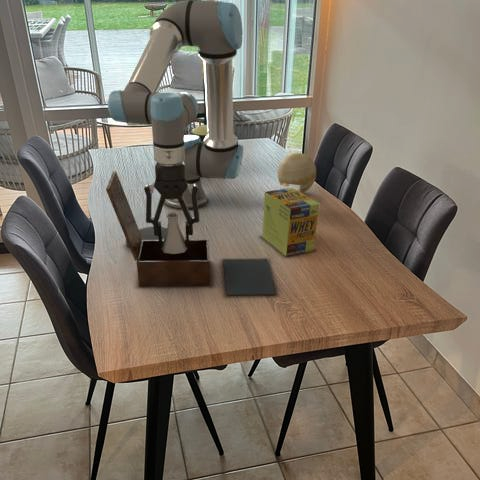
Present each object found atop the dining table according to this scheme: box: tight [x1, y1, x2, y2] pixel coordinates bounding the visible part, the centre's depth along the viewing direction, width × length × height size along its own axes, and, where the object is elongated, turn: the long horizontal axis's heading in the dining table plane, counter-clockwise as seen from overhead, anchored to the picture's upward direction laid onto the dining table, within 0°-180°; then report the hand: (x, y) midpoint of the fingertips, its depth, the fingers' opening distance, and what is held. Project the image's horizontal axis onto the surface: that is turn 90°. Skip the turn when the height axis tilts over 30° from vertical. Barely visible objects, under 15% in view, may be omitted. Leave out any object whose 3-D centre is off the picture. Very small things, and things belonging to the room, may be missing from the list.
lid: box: [105, 170, 142, 262], centre depth 133 cm, size 20×13×1 cm
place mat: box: [223, 258, 276, 297], centre depth 143 cm, size 20×13×1 cm, turn 4°
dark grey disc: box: [125, 226, 167, 250], centre depth 158 cm, size 15×15×3 cm
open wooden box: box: [136, 239, 211, 288], centre depth 141 cm, size 19×13×8 cm
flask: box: [161, 212, 187, 254], centre depth 136 cm, size 7×7×10 cm
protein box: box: [261, 188, 320, 257], centre depth 157 cm, size 10×15×16 cm
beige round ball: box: [277, 152, 317, 193], centre depth 196 cm, size 15×15×15 cm
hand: (174, 245), depth 139 cm, fingers closed on flask, 7 cm apart
